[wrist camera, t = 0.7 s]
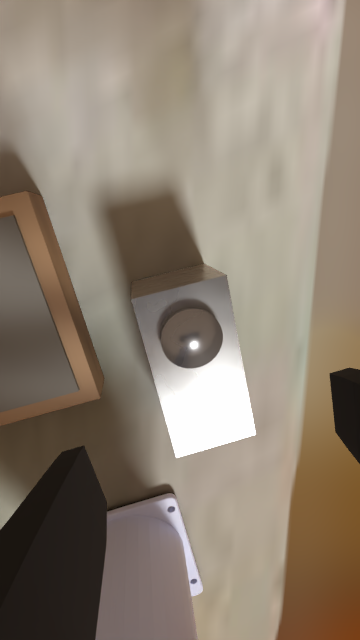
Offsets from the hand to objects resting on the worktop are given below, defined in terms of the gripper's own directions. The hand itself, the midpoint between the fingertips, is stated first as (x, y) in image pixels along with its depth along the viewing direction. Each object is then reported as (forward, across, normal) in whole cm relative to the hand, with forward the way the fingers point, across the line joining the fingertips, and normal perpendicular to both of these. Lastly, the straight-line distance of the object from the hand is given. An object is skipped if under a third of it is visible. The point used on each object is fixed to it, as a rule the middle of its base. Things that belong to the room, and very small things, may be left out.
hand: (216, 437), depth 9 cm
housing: (+10, 0, +1) cm, 10 cm away
